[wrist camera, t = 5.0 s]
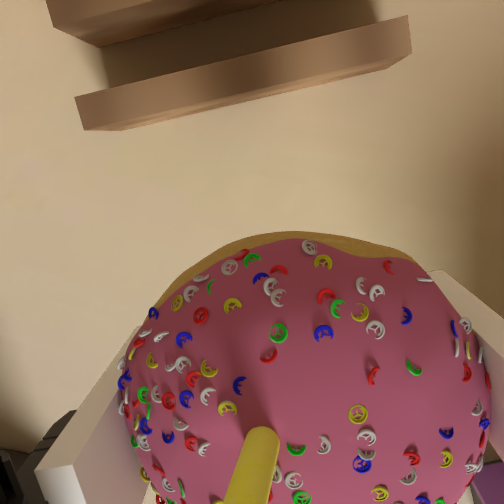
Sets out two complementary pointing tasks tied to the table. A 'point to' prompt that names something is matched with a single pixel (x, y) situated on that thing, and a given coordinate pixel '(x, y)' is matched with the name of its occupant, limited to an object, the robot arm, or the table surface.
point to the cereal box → (489, 484)
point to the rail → (135, 16)
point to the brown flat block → (247, 77)
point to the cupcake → (306, 379)
